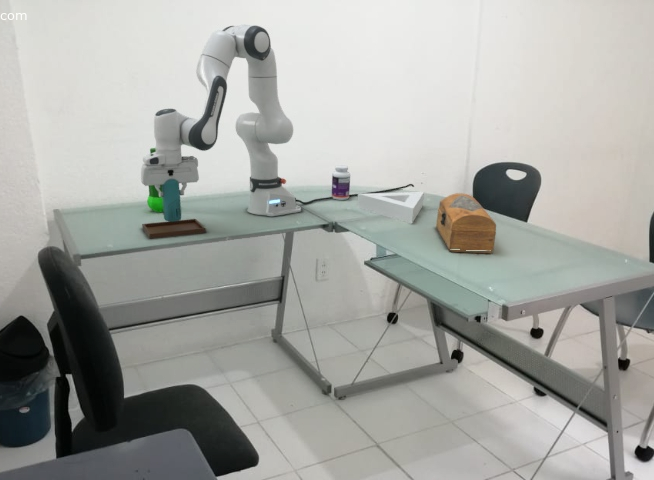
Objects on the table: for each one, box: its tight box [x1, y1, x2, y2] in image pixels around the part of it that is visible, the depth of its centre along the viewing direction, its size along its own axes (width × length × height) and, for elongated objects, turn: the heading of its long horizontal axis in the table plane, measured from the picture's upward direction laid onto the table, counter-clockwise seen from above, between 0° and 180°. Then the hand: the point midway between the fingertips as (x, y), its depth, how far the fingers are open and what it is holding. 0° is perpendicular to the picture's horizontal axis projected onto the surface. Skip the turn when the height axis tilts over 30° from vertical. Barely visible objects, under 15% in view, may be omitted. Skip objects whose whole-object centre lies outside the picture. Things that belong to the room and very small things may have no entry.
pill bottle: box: [331, 165, 351, 201], centre depth 270 cm, size 8×8×14 cm
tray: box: [141, 218, 206, 240], centre depth 223 cm, size 20×13×2 cm, turn 115°
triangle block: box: [356, 191, 425, 225], centre depth 255 cm, size 30×26×6 cm
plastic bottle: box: [147, 147, 164, 213], centre depth 244 cm, size 10×10×25 cm
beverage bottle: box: [162, 170, 182, 222], centre depth 218 cm, size 6×7×20 cm
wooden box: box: [435, 192, 497, 254], centre depth 217 cm, size 30×16×14 cm, turn 176°
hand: (171, 195), depth 218 cm, fingers closed on beverage bottle, 6 cm apart
